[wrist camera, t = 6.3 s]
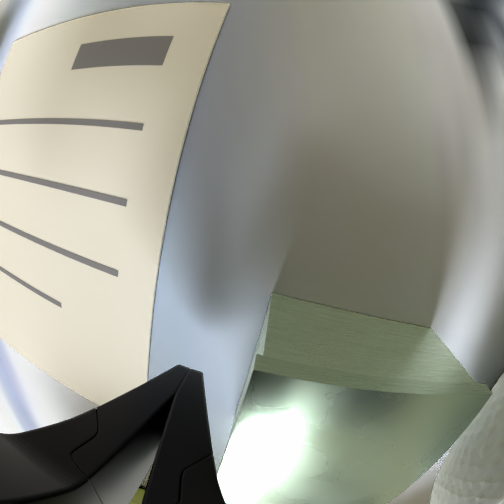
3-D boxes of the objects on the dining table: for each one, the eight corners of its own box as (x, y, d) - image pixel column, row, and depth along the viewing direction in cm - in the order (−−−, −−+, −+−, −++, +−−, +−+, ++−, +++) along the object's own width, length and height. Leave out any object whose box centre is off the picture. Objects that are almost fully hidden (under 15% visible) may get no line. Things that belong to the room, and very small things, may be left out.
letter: (146, 426, 11) (145, 428, 11) (-10, 327, 12) (-11, 328, 12) (230, 4, 6) (229, 2, 6) (14, 41, 7) (13, 41, 7)
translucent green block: (365, 439, 10) (379, 509, 6) (229, 419, 10) (208, 498, 6) (435, 325, 8) (492, 393, 4) (268, 287, 9) (253, 369, 5)
